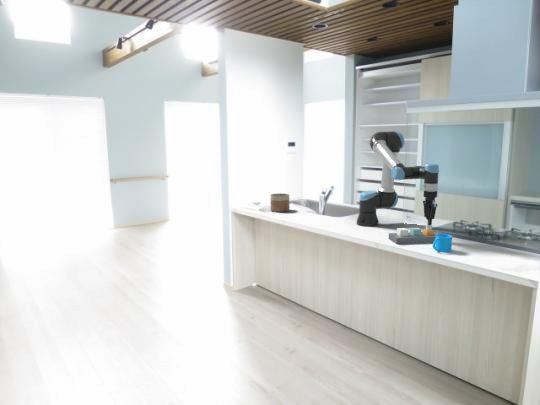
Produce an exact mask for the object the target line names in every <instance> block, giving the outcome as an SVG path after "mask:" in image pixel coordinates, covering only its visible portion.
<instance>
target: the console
mask: <svg viewBox="0 0 540 405" xmlns="http://www.w3.org/2000/svg"><path fill="white" fill-rule="evenodd" d="M436 234H438V233H437V232H435V231H434V235H431V236H426V235H424V234H423V231H421V236H412V235H410V231H408V236H407V237H400V236H398V235H397V232H389V233H388V240H390V241H391V242H393V243H394V244H395V245H406V244H431V243H432V244H433V242H434V241H435V239H436Z"/></svg>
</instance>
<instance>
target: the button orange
mask: <svg viewBox="0 0 540 405" xmlns="http://www.w3.org/2000/svg"><path fill="white" fill-rule="evenodd" d="M422 232H423V234H424V235H426V236H431V235H434V232H435V230H433V229H431V230H426V228H425V229H423V228H422Z"/></svg>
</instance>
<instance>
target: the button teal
mask: <svg viewBox="0 0 540 405" xmlns="http://www.w3.org/2000/svg"><path fill="white" fill-rule="evenodd" d="M422 231H423V228H420V227H410V228H409V232H410V235H412V236H421V232H422Z"/></svg>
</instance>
